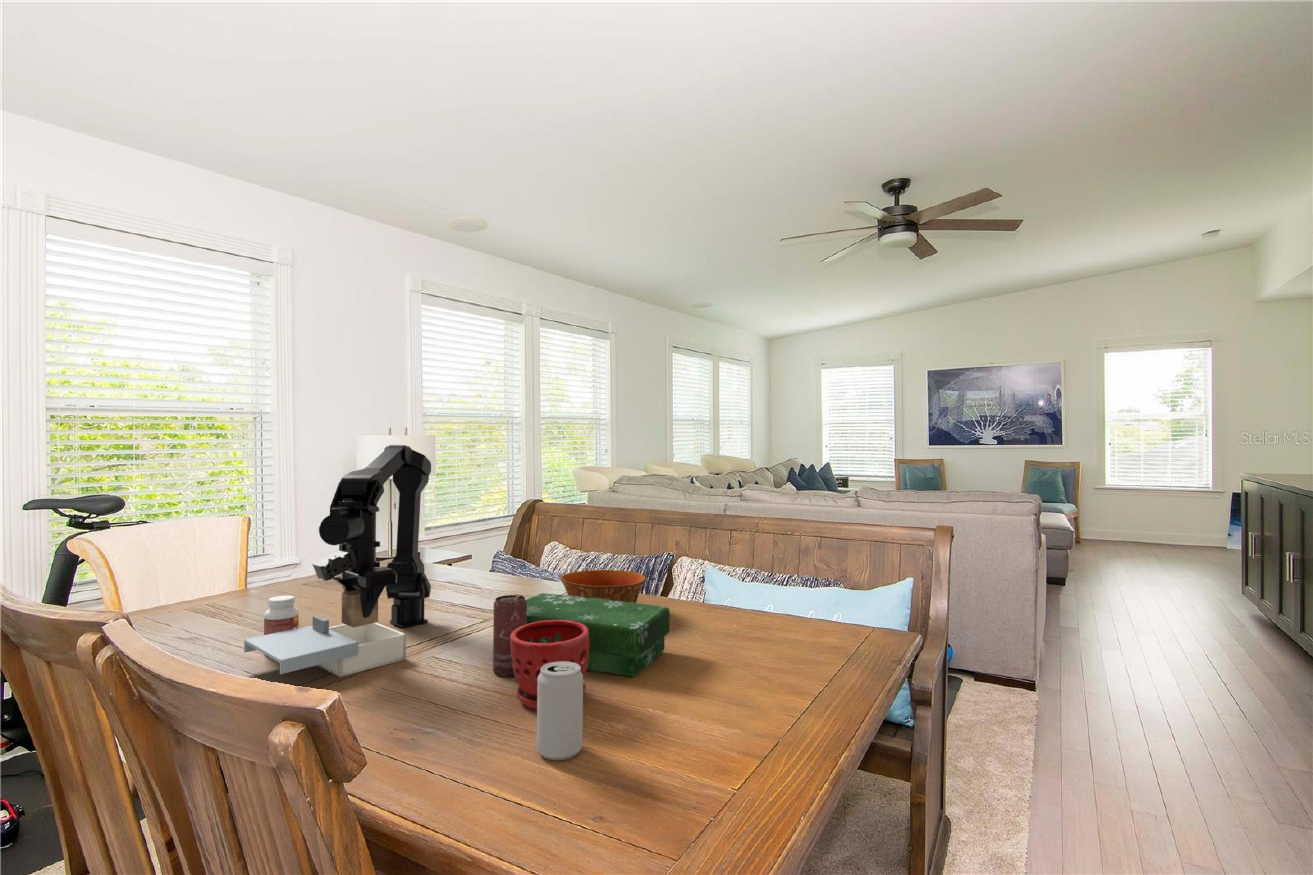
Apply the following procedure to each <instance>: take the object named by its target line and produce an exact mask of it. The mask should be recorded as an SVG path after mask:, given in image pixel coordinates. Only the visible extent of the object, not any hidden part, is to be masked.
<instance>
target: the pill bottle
mask: <svg viewBox="0 0 1313 875" xmlns="http://www.w3.org/2000/svg"><path fill="white" fill-rule="evenodd" d="M295 602H296V601H295V596H294V595H278V596H273V597H270V598H268V601H267V605H268V607H269V609H267V610H266V611H265V612H264V615H263V635H268V634H273V633H278V632H283V631H287V630H292V629H297V628H300V627H299V625H300V624H299V620H300V618H299V617H300V616H299V615H300V613H299V609H298V608H297V607H296V606H294V605H295Z"/></svg>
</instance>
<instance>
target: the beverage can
mask: <svg viewBox="0 0 1313 875" xmlns="http://www.w3.org/2000/svg"><path fill="white" fill-rule="evenodd" d="M580 670H581V667H580V665H578V664H576V663H573V662H567V661H559V662H551V663H548V664H545V665H543V666H542V667H541V669H540V672H541V673H540V674H539V676H538V687H537V709H536V712H537V713H536V749H537V753H539V754H540V755H541V756H542V757H543V758H545V759H547V760H551V761H566V760H570V759H571V758H573V757H575V756H576V755H577V753H579V752H580V751H581V750H582V748H583V730H584V729H583V724H584V723H583V719H584V716H583V715H584V714H583V712H584V695H583V682H584V678H583V674H582V673H581V671H580Z"/></svg>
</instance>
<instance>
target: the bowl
mask: <svg viewBox="0 0 1313 875" xmlns="http://www.w3.org/2000/svg"><path fill="white" fill-rule="evenodd" d="M646 580H647V577H646V576H645V575H643V574H642V573H639V572H636V571H630V570H620V569H619V570H617V569H592V570H590V569H589V570H581V571H574V572H572V571H571V572H568V573H565V574H563V575H561V576H560V581H561V583H562V585H563V586H564V589H565V592H566V595H568V596H577V597H586V598H596V599H605V600H614V601H623V602H631V603H638V602H637V601H638V598H639V594H640V592H641V589H642V587H643V586H644V584H645V583H646Z"/></svg>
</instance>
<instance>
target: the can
mask: <svg viewBox="0 0 1313 875" xmlns="http://www.w3.org/2000/svg"><path fill="white" fill-rule="evenodd" d="M526 600H527V599H526V598H525V596H523V595H522V594H509V595H507V594H506V595H501V596H497V597H496V598H495V601H494V602H493V634H492V635H493V641H492V646H493V647H492V648H493V652H492V654H493V655H492V669H493V670H492V671H493V672H494V674H495V675H496V676H498V677H501V678H511V677H512V678H513V677H515V675H514V671H513V665H512V656H511V649H510V636H511V633H512V632H513V631H514V630H515V629H517V628H519V627H521V626H523V625H526V624H527V602H526Z"/></svg>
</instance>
